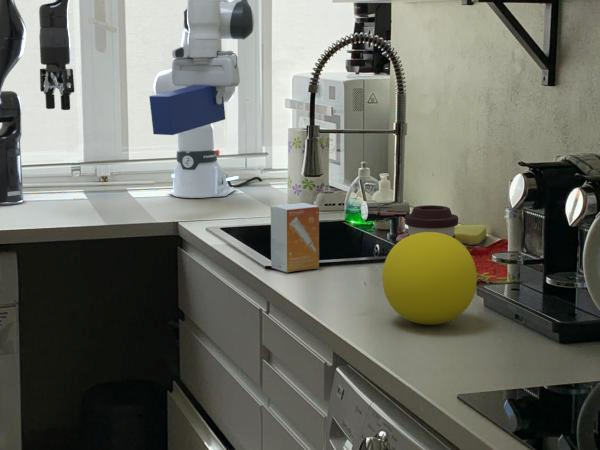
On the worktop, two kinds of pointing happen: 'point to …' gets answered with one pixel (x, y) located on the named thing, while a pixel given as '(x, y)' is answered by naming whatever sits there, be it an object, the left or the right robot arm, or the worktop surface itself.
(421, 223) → the coffee cup
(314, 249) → the small box
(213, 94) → the box
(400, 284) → the toy
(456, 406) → the worktop surface
